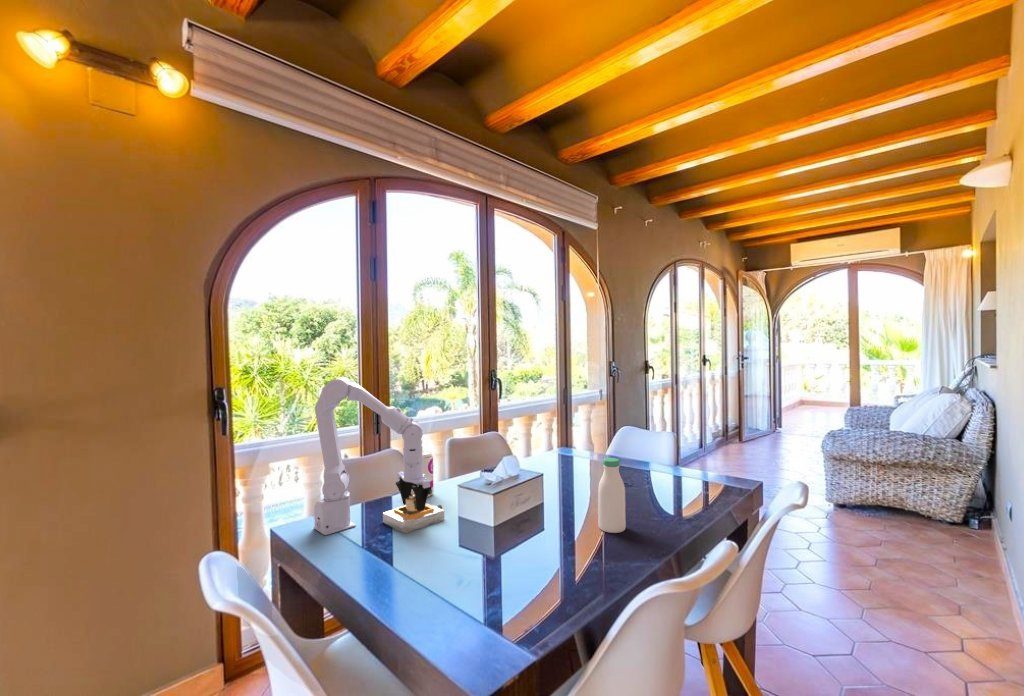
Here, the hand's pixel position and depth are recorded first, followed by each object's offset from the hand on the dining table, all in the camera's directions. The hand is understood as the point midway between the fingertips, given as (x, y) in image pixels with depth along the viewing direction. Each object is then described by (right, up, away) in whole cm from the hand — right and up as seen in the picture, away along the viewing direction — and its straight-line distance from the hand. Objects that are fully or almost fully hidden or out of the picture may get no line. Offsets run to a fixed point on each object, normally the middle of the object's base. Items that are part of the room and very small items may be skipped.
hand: (413, 506), depth 141 cm
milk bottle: (+59, -4, -7) cm, 59 cm away
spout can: (0, -4, 0) cm, 4 cm away
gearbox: (+1, -4, +1) cm, 5 cm away
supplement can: (-2, -5, +25) cm, 25 cm away
